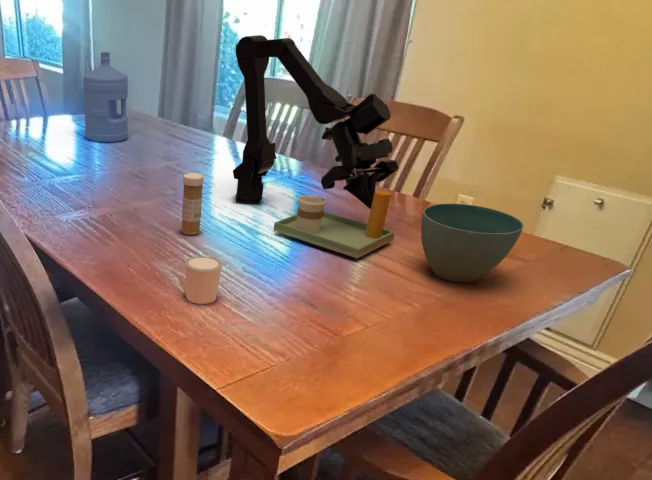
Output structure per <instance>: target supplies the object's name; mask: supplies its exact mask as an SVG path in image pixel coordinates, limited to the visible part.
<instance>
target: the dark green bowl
mask: <svg viewBox="0 0 652 480" xmlns="http://www.w3.org/2000/svg"><path fill="white" fill-rule="evenodd" d="M524 227H525V225H524V223H523V222H522V221H521V220H520V219H519V218H517V217H515V216H514V215H512V214H509V213H506V212H504V211H501V210H498V209H495V208H490V207H486V206H480V205H474V204H467V203H454V202H453V203H452V202H451V203H450V202H449V203H436V204H432V205H429V206H426V207H424V209H423V211H422V215H421V223H420V238H421V245H422V250H423V253H424V256H425V259H426V262H427V263H428V265H429V267H430V269H431V270H432V272H433V273H434V274H435V275H436V276H437V277H439V278H441V279H444V280H447V281H450V282H455V283H472V282H475V281H477V280H480V279H481V278H482V277H484V276H485V275H487V274H488V273H490V272H491V271H492V270H494V269H495V268H496V267H497V266H498V265H499V264H500V263H501V262H503V260H505V258H506V257H507V256H508V255H509V253H510V252H511V250H512V249H513V247H514V246H515V245H516V243H517V242H518V240H519V238H520V236H521V234H522V233H523V229H524Z"/></svg>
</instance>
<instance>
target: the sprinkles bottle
mask: <svg viewBox="0 0 652 480" xmlns="http://www.w3.org/2000/svg"><path fill="white" fill-rule="evenodd" d="M204 178H205V177H204V175H203V174H201V173H197V172H189V173H185V174H184V175H183V178H182V179H183V180H182V184H183V194H182V207H181V208H182V209H181V229H180V232H181V233H182V234H184V235H188V236H195V235H198V234H200V232H201V230H200V228H201V218H202V206H203V205H202V204H203V186H204V182H205V181H204V180H205V179H204Z"/></svg>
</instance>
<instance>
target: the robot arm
mask: <svg viewBox="0 0 652 480" xmlns="http://www.w3.org/2000/svg"><path fill="white" fill-rule="evenodd" d="M234 50H235V51H234V52H235V57H236V62H237V67H238V69H239V70H240V73H241V75H242V77H243V79H244V98H245V100H244V101H245V117H246V142H245V145H244V148H243V150H242V160H241V162H240V163H239V164H238V165H237V166H235V168H233V170H232V175H233V179H234V180H237V184H236V192H235V203H237V204H250V205H251V204H252V205H254V204H255V205H261V201H262V200H263V194H264V186H265V185H264V182H263V177H266V176H267V174H268V172H269V170H271V169H272V167H274V165H275V160H277V155H276V142H270V140H269V138H268V135H267V134H268V133H267V112H266V109H267V108H266V87H265V74H266V72H267V68H268V67H269V63H270V58H276V59H278V61H279V62H280V63H281V65H282V66H283V68H284V69H285V70H286V71H287V73H288V74H289V75H290V76H291V78H292V79H293V81H294V82H295V83H296V84H297V86H298V87H299V89H300V90H301V92H303V94H304V95H305V97H306V99H307V104H308V108H309V110H310V112H311V114H312V116H313V118H314V120H315V121H316V122H317V123H318V124H320V125H328V124H332V123H335V124H334V125H332V126H331V127H327V126H325V128H324V131H323V133H322V135H321V140H325V141H332V143H333V145H334V148H335V151H336V156H335V157H334V159H335V162H336V163H339V162H340V164H341V165H334V166H332V167H331V168H330V169H329V170H327V172H325V173H324V174H323V175H322V176H321V179H320V184H321V186H322V189H323V190H330V189H331V190H332V189H333V188H335V185H336V182H339V181H345V185H344V186H343V187H342V189H343V191H347V192H348V193H350V194H351V195H352V196H354V197H355V198H356V199H358V200H359V201H360V202H361V203H362V204H363V205H365V206H366V207H367V208H368V209H369V210H371V206H372V201H373V197H374V192H375V191H376V185H377V183H381V182H384V181H385V180H386V179H388V178H389V177H390V176H392V175H393V174H394V173H396V172H397V171H398V170H399V169H400V167H399V165H398V163H397V160H394V159H386V160H384V159H383V158H388V157H389V156H390V155H389V154H391V153H392V152H393V149H394V148H393V144H392V142H391V140H390V138H382V139H379V140H378V141H377V142H373V143H370V144H369V142H362V139H361V136H360V134H363V135H365V136H367V135H370V134H371V133H372V132H373V131H375V130H376V129H377V128H379V127H381V126H382V125H383V124H385V123H386V122H388V121H389V120H390V119H391V112H390V111H391V110H390V108H389V106H388V105H387V104H386V103H385V102H384V100H382V99H381V98H379V97H378V96H377V94H376V93H375V92H374V93H370V94H368V95H367V96H366V97H364V99H363V100H362V101H361V102H359V103H358V104H357V105H356V104H353V103H351V102H348V101H347V99H346V98H345V97H344V96H343V95H342V94H341V93H340V92H339V91H337V89H335V88H333V87H332V86H330V85H328V84H327V83H326V82H324V81H323V79H322V78H321V76H320V75H319V74H318V73H317V72H316V70H315V69H314V67H313V66H312V65H311V63H310V62H309V61H308V60H307V59H306V57H305V56H304V55H303V53H302V52H301V51H300V49H299V48H298V47H297V46H296V42H295V40H293V39H292V38H291V37H284V38H275V39H267V37H266V36H264V35H262V34H258V35H257V34H256V35H248V36H247V35H246V36H243V37H241V38H240V39H239V40H238V42H237V43H236V45H235V49H234ZM343 119H344V121H341V120H343ZM345 119H346V120H345ZM378 159H383V160H380V161H379V162H378V161H377V160H378ZM377 162H378V163H377ZM372 165H374V166H373V167H372Z"/></svg>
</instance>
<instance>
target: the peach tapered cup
mask: <svg viewBox="0 0 652 480" xmlns="http://www.w3.org/2000/svg"><path fill="white" fill-rule="evenodd" d="M222 268H223V263H222V261H221V260H219V259H217V258H215V257H212V256H204V255H199V256H197V255H196V256H191V257H188V258H187V259H186V260H185V262H184V271H185V273H184V275H185V297H186V299H187V301H189V302H190V303H194V304H196V305H197V304H198V305H207V304H211V303H214V302H215V301H216V300H217V294H218V288H219V284H220V278H221V274H222V273H221V272H222Z"/></svg>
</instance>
